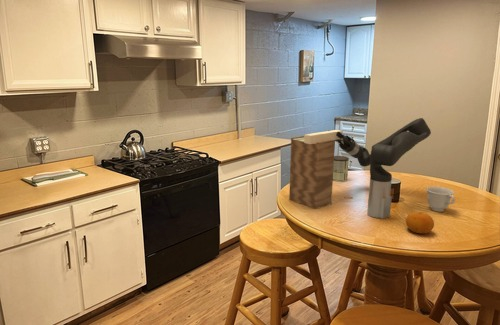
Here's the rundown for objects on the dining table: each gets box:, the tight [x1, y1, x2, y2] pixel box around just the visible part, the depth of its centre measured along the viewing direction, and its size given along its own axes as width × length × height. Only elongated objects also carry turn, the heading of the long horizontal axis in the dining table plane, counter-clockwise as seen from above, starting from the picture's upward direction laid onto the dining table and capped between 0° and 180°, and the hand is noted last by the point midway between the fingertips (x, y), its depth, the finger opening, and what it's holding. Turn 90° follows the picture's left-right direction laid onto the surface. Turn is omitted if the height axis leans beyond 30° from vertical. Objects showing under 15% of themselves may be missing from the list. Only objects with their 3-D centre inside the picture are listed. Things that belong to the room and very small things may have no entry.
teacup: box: [425, 186, 456, 213], centre depth 172 cm, size 12×15×10 cm
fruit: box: [405, 212, 435, 235], centre depth 149 cm, size 10×10×8 cm
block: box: [303, 129, 344, 144], centre depth 176 cm, size 4×24×4 cm, turn 129°
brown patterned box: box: [288, 135, 336, 210], centre depth 181 cm, size 18×12×33 cm, turn 39°
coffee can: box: [333, 155, 350, 183], centre depth 223 cm, size 10×10×14 cm
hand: (332, 132), depth 180 cm, fingers open, 5 cm apart
